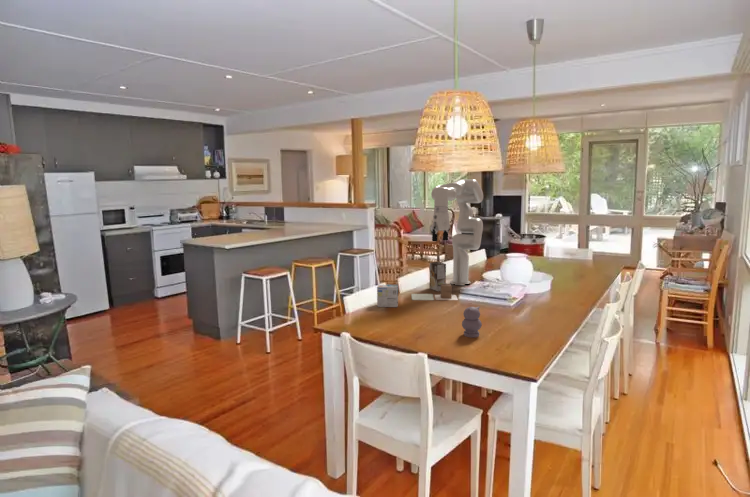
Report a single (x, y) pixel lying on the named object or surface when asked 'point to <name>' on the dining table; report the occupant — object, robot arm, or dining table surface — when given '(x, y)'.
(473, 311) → the cat figurine
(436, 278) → the coffee box
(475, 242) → the robot arm
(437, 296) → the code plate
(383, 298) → the light bulb box
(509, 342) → the dining table surface
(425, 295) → the sage mat
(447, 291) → the walnut block
